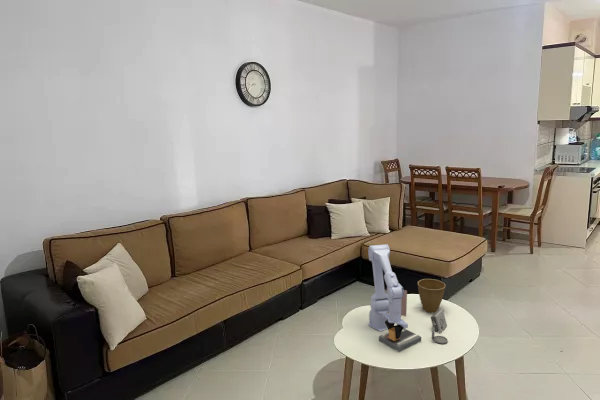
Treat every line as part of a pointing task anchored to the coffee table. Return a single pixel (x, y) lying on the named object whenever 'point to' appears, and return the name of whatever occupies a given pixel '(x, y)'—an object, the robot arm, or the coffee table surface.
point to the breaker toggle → (392, 334)
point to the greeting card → (403, 304)
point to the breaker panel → (401, 340)
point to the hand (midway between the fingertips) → (394, 336)
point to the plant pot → (431, 294)
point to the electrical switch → (439, 321)
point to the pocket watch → (438, 338)
